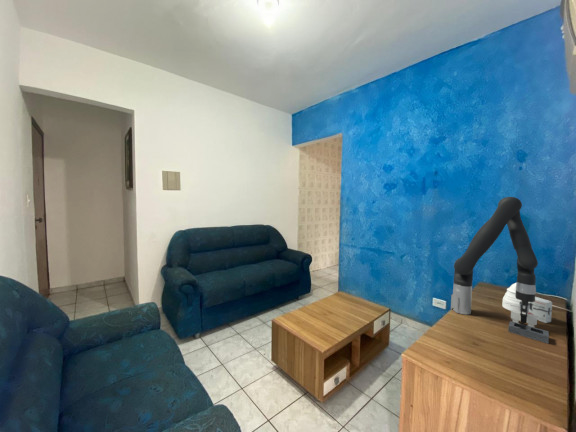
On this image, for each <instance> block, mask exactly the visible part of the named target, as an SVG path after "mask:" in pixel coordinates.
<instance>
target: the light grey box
mask: <svg viewBox="0 0 576 432" xmlns="http://www.w3.org/2000/svg"><path fill="white" fill-rule="evenodd" d="M520 313H521V312H520V311H516V310H511V311H510V319H511V320H512V321H513V322H516V323H520V322H521V316H520ZM522 314H526V313H524V312H522ZM519 321H520V322H519ZM526 324H527V326H531V327H535V326H537V324H538V320H537V316H536V315H532V314H528V313H527V322H526Z"/></svg>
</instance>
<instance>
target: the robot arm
mask: <svg viewBox="0 0 576 432" xmlns="http://www.w3.org/2000/svg"><path fill="white" fill-rule="evenodd" d="M522 207H523V203H522V201H521V200H520V199H519V197H515V196H507V197H503V198H501V199H500V200H499V201H498V203H497V207H496V209H495V210H494V213H493V214H492V215H491V217H490V218H489V219H488V220H487V221H486V222H485V223H483V224H482V226H481V227H479V229H478V230H477V232H476V233H475V235H474V236H473V237H472V239H471V240H470V242H469V245H468V246H467V249H466V250H465V252H464V253H463V254H462V255H461V256H460V257H458V258H457V259H456V260H455V261H454V263H453V264H454V265H453V269H454V273H453V287H452V288H453V289H452V294H450V296H451V298H450V299H451V300H450V310H452V308H454V309H453V310H452V311H453V312H455V313H457V314H461V315H471V312H472V299H473V297H472V295H473V278H474V268H475V266H476V265H477V263H478V261H479V260H480V258H481V257H482V256H484V255H485V253H486V252H488V250H490V248H491V247H492V246H493V245H494V243H495V242H496V241H497V239H498V238H499V237H500V235H501V233H502V232H503V231H504V230H505V227H506V225H507V228H508V229H507V230H508V232H509V236H510V240H511V243H512V246H513V249H514V250H515V253H516V255H517V259H516V267H517V275H516V283H517V284H516V296H515V297H516V298H517V299H519V300H521V301H522V302H521V301H520V304H519V306H520V311H521V313H520V316H521V321H520V324H524V325H527V313H529V308H530V303H528V302H535V297H536V292H537V289H536V288H537V287H536V280H537V279H536V273H535V268H537V267H538V264H539V263H538V259H537V256H536V254H535V251H534V250H533V247H532V243H531V240H530V237H529V234H528V231H527V229H526V227H525V225H524V223H523V221H522V216H521V212H520V211H521V209H522ZM522 312H524V313H526V314H522Z"/></svg>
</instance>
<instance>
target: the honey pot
mask: <svg viewBox="0 0 576 432" xmlns="http://www.w3.org/2000/svg"><path fill="white" fill-rule="evenodd" d="M516 284H517V282H515V283H512V284H511V285H510V286H509V287H507V288H506V292H505V293H504V296H503V297H502V305H501V306H502V308H503V309H505V310H508V311H509V312H511V310H516V311H520V306H519V304H520V301H521V300H519V299H517V298H516V297H515V296H516ZM521 302H522V301H521ZM520 312H521V311H520Z"/></svg>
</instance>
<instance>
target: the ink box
mask: <svg viewBox="0 0 576 432" xmlns="http://www.w3.org/2000/svg"><path fill="white" fill-rule="evenodd" d="M528 303H530V308H529V313H528V314H532V315H536V316H537V321H539V322H542V323H544V324H547V323H551V322H552V316H553V315H552V312H553V302H552V301H551V300H548V299H545V298H542V297H541V298H540V297H538V296H535V302H528Z"/></svg>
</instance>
